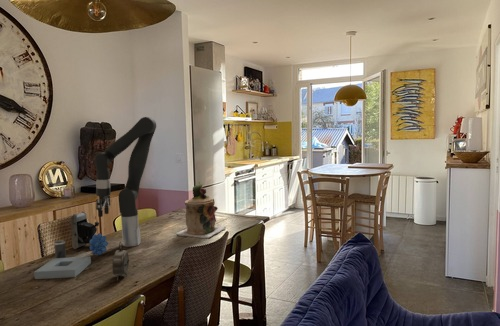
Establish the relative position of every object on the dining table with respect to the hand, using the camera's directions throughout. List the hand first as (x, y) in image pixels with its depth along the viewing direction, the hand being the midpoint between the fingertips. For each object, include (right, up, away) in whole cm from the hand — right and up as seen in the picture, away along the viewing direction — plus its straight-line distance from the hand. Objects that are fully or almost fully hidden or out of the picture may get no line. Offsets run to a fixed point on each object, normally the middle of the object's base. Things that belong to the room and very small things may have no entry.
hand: (103, 215), depth 210 cm
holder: (-4, -21, -36) cm, 42 cm away
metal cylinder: (-14, -20, -20) cm, 32 cm away
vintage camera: (-9, -19, +2) cm, 21 cm away
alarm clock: (+27, -21, -47) cm, 58 cm away
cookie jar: (+53, -15, +24) cm, 60 cm away
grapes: (+4, -19, -14) cm, 24 cm away
